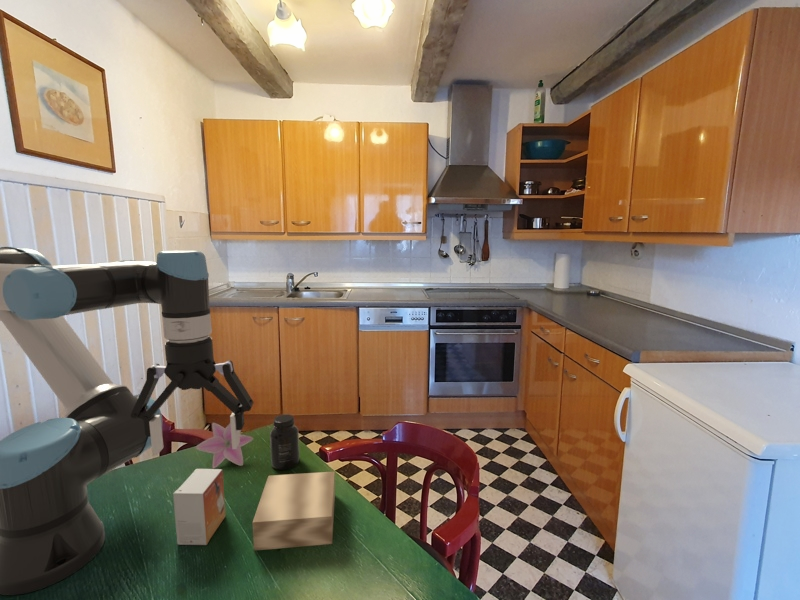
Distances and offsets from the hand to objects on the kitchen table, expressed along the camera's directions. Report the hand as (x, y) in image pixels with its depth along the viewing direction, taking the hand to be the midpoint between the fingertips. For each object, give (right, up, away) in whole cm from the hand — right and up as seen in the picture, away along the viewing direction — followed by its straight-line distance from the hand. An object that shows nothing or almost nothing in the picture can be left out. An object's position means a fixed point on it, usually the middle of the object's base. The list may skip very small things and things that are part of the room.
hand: (197, 448), depth 73 cm
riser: (+17, -17, +6) cm, 25 cm away
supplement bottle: (+9, -14, +25) cm, 30 cm away
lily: (-6, -13, +27) cm, 30 cm away
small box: (0, -17, +3) cm, 17 cm away
